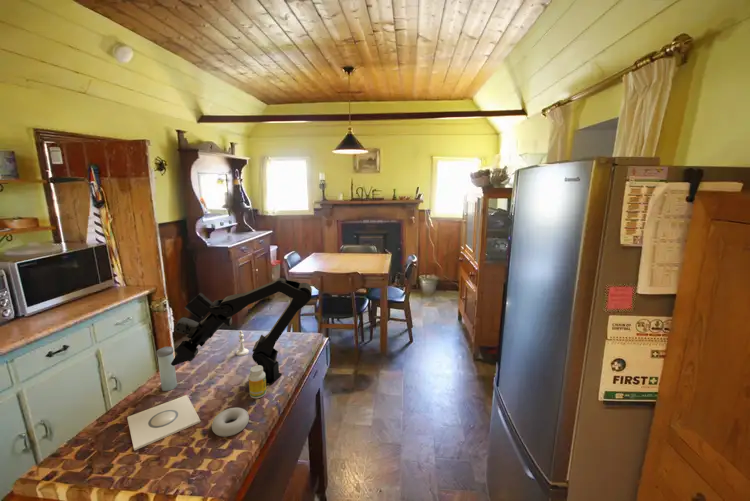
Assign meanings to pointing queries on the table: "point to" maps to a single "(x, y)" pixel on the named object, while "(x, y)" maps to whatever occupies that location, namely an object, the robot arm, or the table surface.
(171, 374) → the tube
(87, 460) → the table surface
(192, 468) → the table surface
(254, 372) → the supplement bottle
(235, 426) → the donut
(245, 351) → the chess piece
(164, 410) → the card
